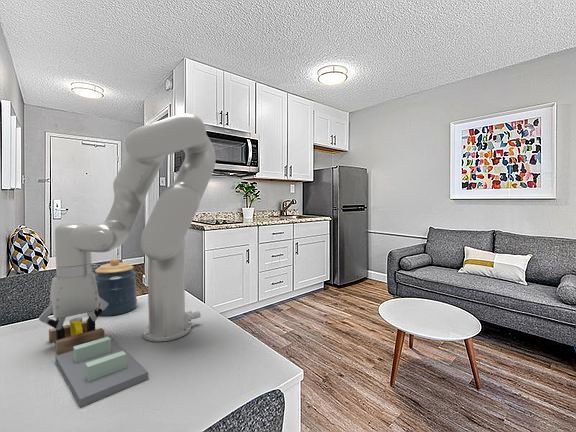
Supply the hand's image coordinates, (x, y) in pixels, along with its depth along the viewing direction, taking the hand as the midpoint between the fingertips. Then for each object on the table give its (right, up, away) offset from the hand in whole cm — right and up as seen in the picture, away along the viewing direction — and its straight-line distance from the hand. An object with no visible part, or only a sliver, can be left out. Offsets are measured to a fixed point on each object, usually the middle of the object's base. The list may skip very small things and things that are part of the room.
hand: (76, 337), depth 80 cm
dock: (+15, -2, -14) cm, 20 cm away
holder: (0, -1, 0) cm, 1 cm away
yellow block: (0, -1, 0) cm, 1 cm away
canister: (-3, 0, +23) cm, 23 cm away
